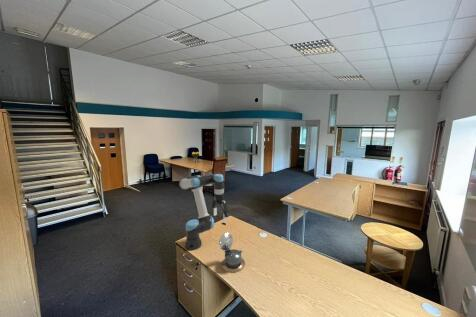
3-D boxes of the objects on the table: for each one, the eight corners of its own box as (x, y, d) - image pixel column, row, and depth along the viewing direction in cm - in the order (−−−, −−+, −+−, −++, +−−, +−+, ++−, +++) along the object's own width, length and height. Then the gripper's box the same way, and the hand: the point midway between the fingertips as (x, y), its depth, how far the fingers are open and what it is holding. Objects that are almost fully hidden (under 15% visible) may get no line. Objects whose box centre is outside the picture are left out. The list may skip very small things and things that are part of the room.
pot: (216, 263, 169) (216, 254, 167) (234, 253, 181) (234, 244, 180) (231, 276, 155) (231, 266, 153) (250, 264, 167) (249, 254, 166)
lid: (221, 254, 167) (219, 253, 169) (234, 247, 176) (232, 246, 177) (218, 236, 166) (216, 236, 168) (231, 230, 175) (229, 230, 177)
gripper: (206, 190, 176) (207, 214, 180) (225, 198, 158) (225, 224, 162) (214, 188, 181) (215, 211, 185) (232, 196, 163) (233, 221, 167)
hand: (220, 217), depth 173 cm, fingers open, 12 cm apart
